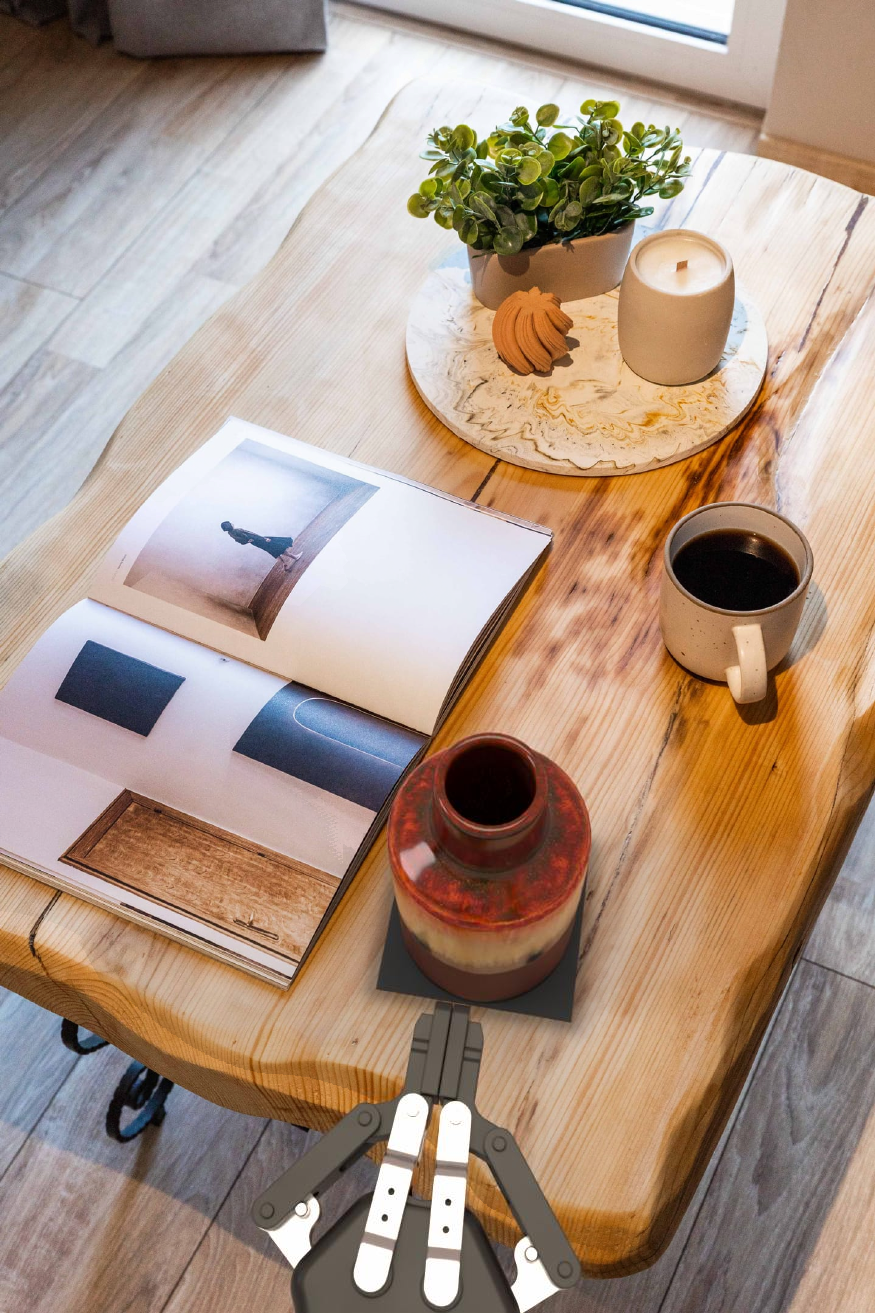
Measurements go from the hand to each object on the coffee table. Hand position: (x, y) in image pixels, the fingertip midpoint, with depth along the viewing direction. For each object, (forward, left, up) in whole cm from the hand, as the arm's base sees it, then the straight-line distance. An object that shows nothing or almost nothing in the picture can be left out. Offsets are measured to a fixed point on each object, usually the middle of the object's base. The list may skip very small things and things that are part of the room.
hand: (453, 1008), depth 46 cm
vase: (0, +11, -22) cm, 24 cm away
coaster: (0, +11, -22) cm, 24 cm away
